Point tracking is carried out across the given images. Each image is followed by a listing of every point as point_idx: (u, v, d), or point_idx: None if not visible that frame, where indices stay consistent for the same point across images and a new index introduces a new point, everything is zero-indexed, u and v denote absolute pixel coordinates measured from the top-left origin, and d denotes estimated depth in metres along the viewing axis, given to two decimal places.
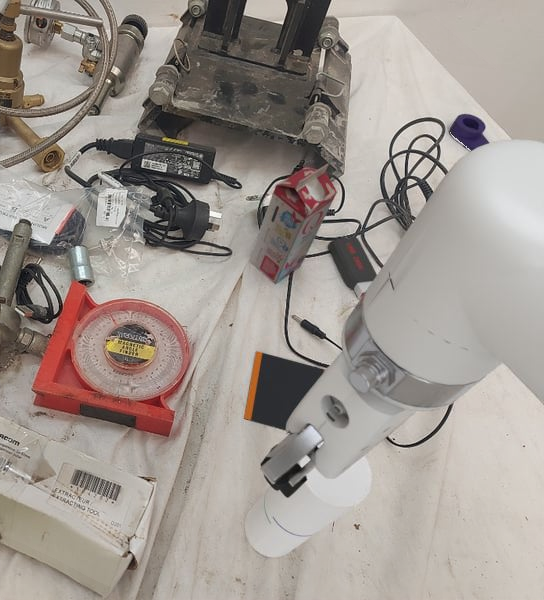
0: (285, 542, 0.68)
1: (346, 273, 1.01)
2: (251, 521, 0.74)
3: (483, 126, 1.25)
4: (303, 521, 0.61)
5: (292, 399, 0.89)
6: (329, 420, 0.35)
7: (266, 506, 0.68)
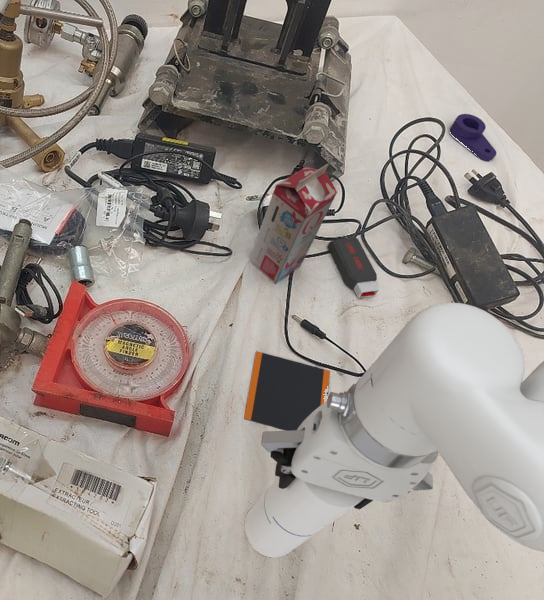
0: (285, 542, 0.68)
1: (346, 274, 1.01)
2: (251, 521, 0.74)
3: (483, 126, 1.25)
4: (302, 521, 0.61)
5: (292, 399, 0.89)
6: (312, 427, 0.51)
7: (266, 506, 0.68)
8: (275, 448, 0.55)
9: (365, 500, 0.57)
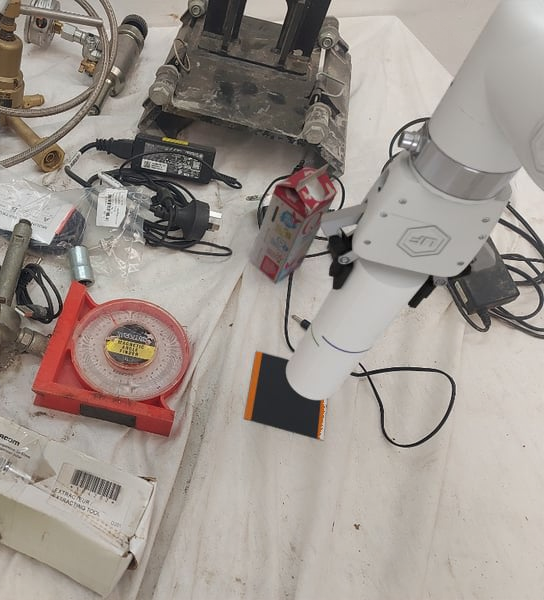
0: (333, 368, 0.68)
1: None
2: (295, 360, 0.73)
3: None
4: (356, 325, 0.60)
5: (292, 399, 0.89)
6: (377, 190, 0.50)
7: (314, 329, 0.67)
8: (334, 229, 0.54)
9: (423, 291, 0.56)
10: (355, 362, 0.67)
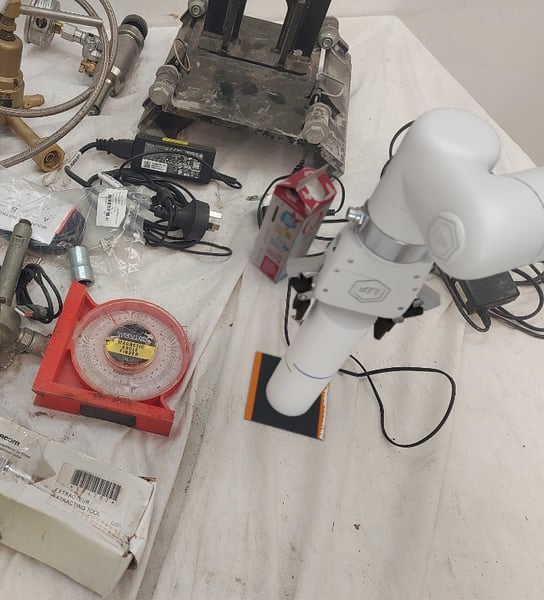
0: (303, 390, 0.80)
1: None
2: (273, 381, 0.85)
3: None
4: (320, 357, 0.72)
5: None
6: (332, 249, 0.62)
7: (287, 358, 0.79)
8: (296, 273, 0.65)
9: (385, 326, 0.68)
10: (322, 386, 0.79)
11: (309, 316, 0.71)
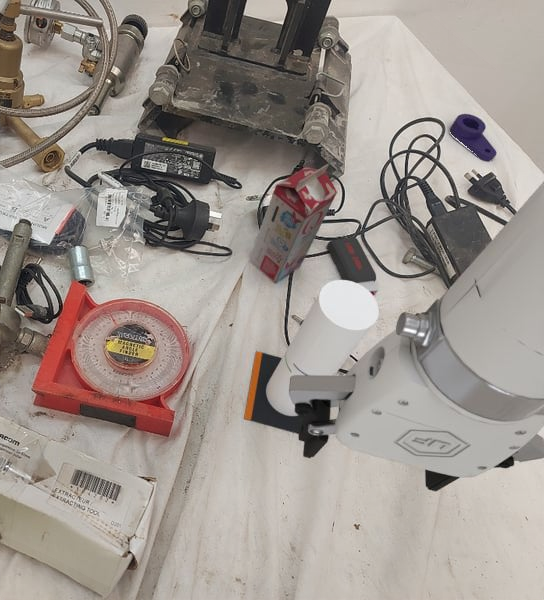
0: None
1: (345, 274, 1.01)
2: (273, 381, 0.85)
3: (483, 126, 1.25)
4: (320, 357, 0.72)
5: None
6: (368, 371, 0.36)
7: (287, 358, 0.79)
8: (306, 399, 0.40)
9: (447, 478, 0.42)
10: None
11: (309, 316, 0.71)
